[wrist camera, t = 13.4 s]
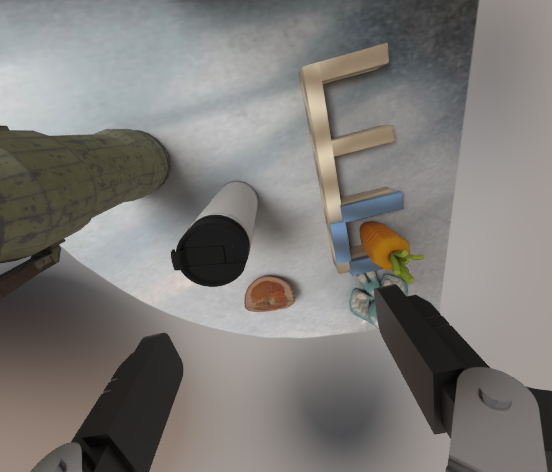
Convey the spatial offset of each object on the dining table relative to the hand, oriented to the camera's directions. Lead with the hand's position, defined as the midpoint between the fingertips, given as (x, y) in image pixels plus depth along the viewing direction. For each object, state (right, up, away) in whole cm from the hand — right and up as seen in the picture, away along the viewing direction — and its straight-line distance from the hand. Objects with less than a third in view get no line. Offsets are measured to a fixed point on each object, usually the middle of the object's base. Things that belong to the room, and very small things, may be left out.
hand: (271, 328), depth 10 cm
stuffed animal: (+18, -7, +38) cm, 43 cm away
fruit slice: (-1, -6, +37) cm, 38 cm away
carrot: (+15, +5, +33) cm, 36 cm away
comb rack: (+13, +13, +29) cm, 35 cm away
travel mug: (-6, +9, +31) cm, 33 cm away
